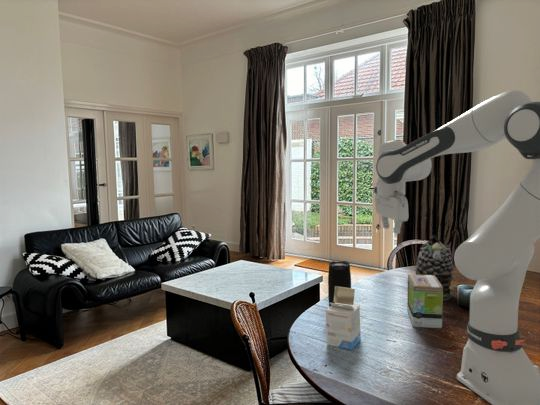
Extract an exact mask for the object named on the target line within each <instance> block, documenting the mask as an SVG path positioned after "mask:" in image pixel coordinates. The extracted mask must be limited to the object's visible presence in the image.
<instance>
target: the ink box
mask: <svg viewBox="0 0 540 405" xmlns="http://www.w3.org/2000/svg"><path fill="white" fill-rule="evenodd" d="M330 304H331V305H332V306H330V307H328V308H327V309H325V318H326V319H325V321H326V322H325V323H326V343H327V344H326V345H327V346H332V347H336V348H341V349H346V350H351V351H353V350H354V348H356V346H357V345H358V344H359V342H360V341H361V338H362V337H361V312H360V311H361V310H360V308H361V307H360V305H357V304H353V305H348V304H340V303H336V302H335V303H330Z"/></svg>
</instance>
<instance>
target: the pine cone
mask: <svg viewBox="0 0 540 405" xmlns="http://www.w3.org/2000/svg"><path fill="white" fill-rule="evenodd" d="M416 260H417V261H416V267H415V270H414V271H415V273H414V275H435V277H436V278H437V279H438V281H439V282H440V284H441V285H442V287H443V301H449V300H450V299H451V298H452V295H453V294H452V291H453V290H454V286H453V285H452V280H453V279H454V278H453V271H454V266H453V263H452V260H453V254H452V251H451V248H449V247H446V244H443V243H442V241H441V240H440V239H438V238H437V235H436V234H432V237H431V238H429V239H428V241H426V243H423V245H422V246H421V247H420V248H419V252H418V255H417V258H416Z"/></svg>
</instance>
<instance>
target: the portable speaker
mask: <svg viewBox="0 0 540 405" xmlns="http://www.w3.org/2000/svg"><path fill="white" fill-rule="evenodd" d="M327 274H328V275H327V282H328V283H327V285H328V286H327V288H328V290H327V292H328V293H327V294H328V296H327V299H328V306H329V307H330V306H332V305H331V304H330V303H335V302H333V301H334V292H335V286H338V287H346V288H352V276H351V275H352V274H351V264H350V262H349V261H347V260H343V261H335V260H331V261H329V262H328V273H327ZM329 307H328V308H329Z"/></svg>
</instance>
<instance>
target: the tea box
mask: <svg viewBox="0 0 540 405" xmlns="http://www.w3.org/2000/svg"><path fill="white" fill-rule="evenodd" d="M443 301H444V300H443V287H442V285H441V284H440V282H439V281H438V279H437V278H436V277H435V275H416V274H410V273H409V274H408V275H407V307H406V308H407V309H406V310H407V313H408V316H409V319H410V322H411V324H412V327H414V328H428V329H429V328H431V329H442V328H443V305H444V304H443V303H444V302H443Z"/></svg>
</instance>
